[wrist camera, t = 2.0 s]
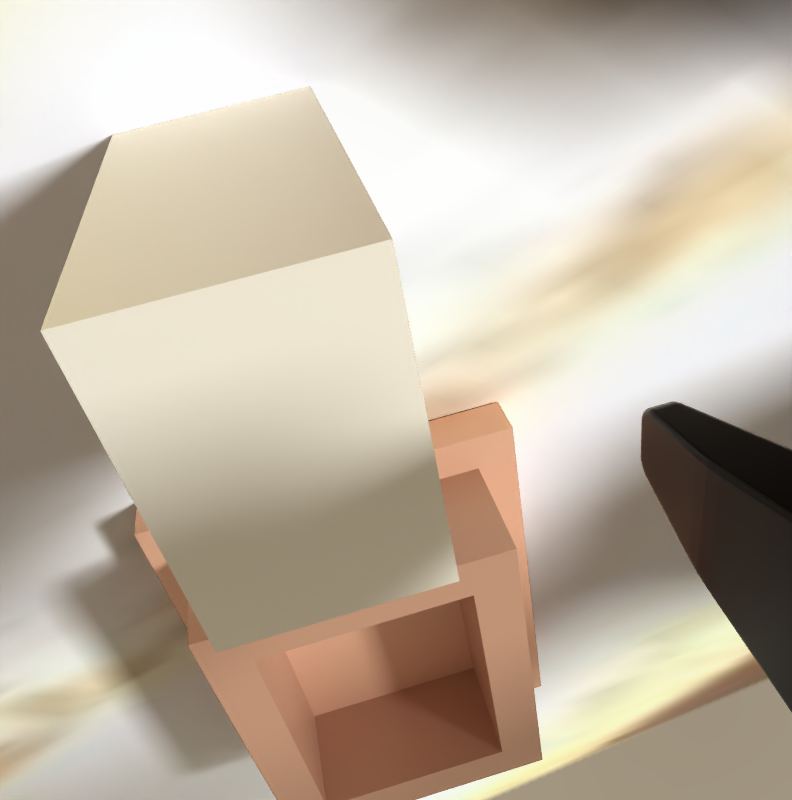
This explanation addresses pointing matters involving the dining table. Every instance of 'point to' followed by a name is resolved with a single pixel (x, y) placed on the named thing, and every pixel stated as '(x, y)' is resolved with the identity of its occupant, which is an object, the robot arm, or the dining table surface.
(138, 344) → the plug
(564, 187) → the dining table surface
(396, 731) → the dock
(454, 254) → the dining table surface
